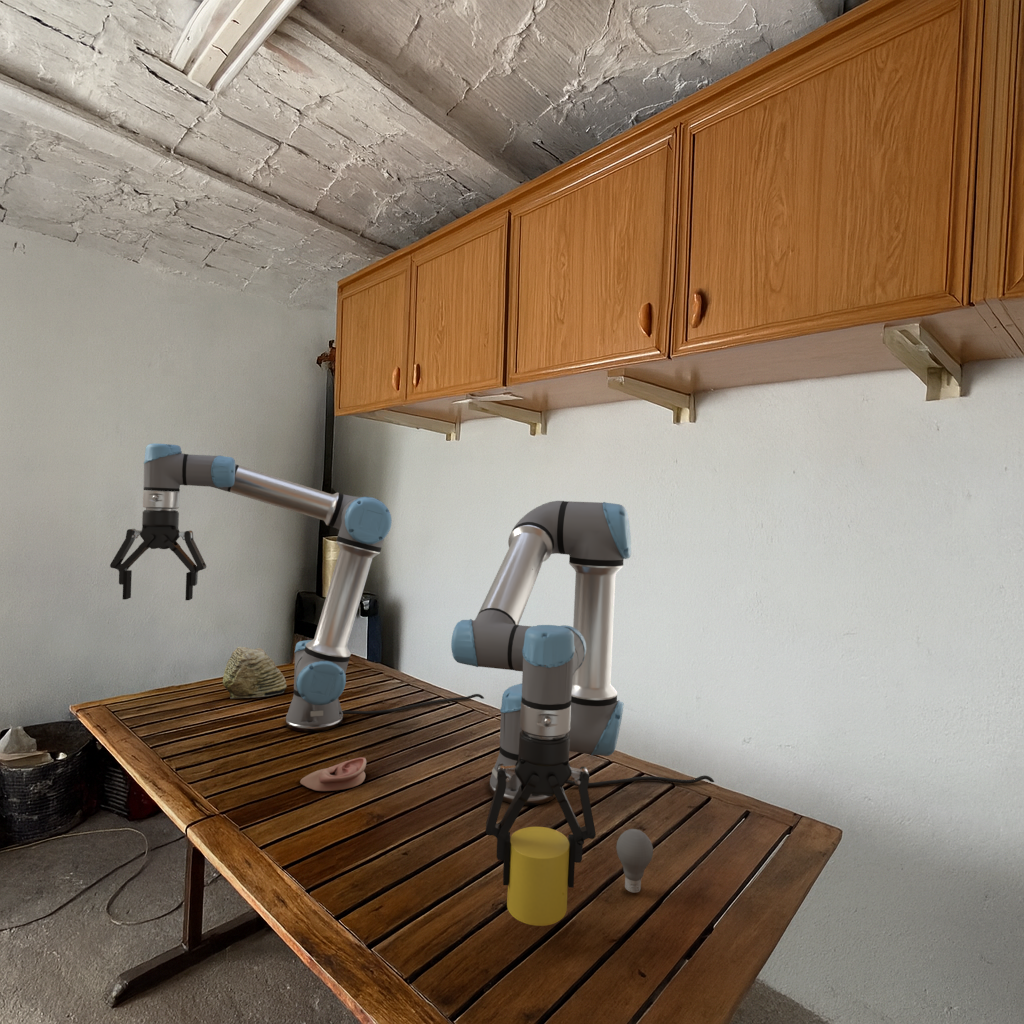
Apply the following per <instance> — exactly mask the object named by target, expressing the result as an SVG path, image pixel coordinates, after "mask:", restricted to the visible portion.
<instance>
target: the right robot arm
mask: <svg viewBox="0 0 1024 1024" xmlns="http://www.w3.org/2000/svg"><path fill="white" fill-rule="evenodd" d="M628 513H629V512H628V510H627V509H626V507H625V506H624V505H623V504H620V503H612V502H606V501H603V502H596V501H570V500H569V501H567V500H553V501H552V500H551V501H548V502H545V503H543V504H541V505H538V506H536V507H534V508H533V509H531V510H530V511H529V512H527V513H526V514H525V515H523V516H522V517H521V518H520V519H519V520H518V521H517V522H516V524H515V525H514V526H513V528H512V530H511V532H510V533H509V536H508V542H507V543H508V550H507V552H506V554H505V556H504V558H503V560H502V562H501V565H500V566H499V568H498V570H497V573H496V574H495V577H494V579H493V581H492V583H491V586H490V588H489V590H488V591H487V594H486V595H485V598H484V600H483V602H482V604H481V607H480V609H479V611H478V613H477V615H476V617H475V619H474V620H473V619H471V618H470V619H461V620H460V621H458V622H457V623H456V624H455V625H454V628H453V632H452V635H451V641H450V643H451V644H450V648H451V653H452V657H453V659H454V660H455V661H456V662H457V663H459V664H462V665H467V666H471V667H475V668H488V669H497V670H498V669H499V670H509V671H515V672H521V673H522V675H521V676H522V677H521V683H518V684H514V685H511V686H509V687H508V688H506V689H505V690H504V691H503V693H502V696H501V707H500V708H499V709H500V710H499V711H500V726H499V727H500V728H499V731H500V732H499V751H498V752H499V753H498V756H497V759H496V761H495V764H494V766H493V767H492V770H491V775H490V779H489V791H490V793H491V795H493V796H492V800H491V804H490V806H489V807H490V808H489V809H488V814H487V818H486V821H485V835H487V836H494V837H495V839H496V859H497V861H503V867H502V884H503V886H508V881H509V859H510V838H511V832H510V831H511V829H512V827H513V825H514V823H515V821H516V820H517V818H518V816H519V815H520V813H521V811H522V809H523V807H524V806H538V805H542V804H543V805H544V804H546V803H549V802H551V801H553V800H554V799H556V801H557V803H558V804H559V807H560V809H561V811H562V813H563V816H564V818H565V820H566V822H567V825H568V827H569V829H570V832H571V834H570V833H569V834H568V837H567V839H568V840H569V843H570V850H569V871H568V889H569V888H572V889H573V888H575V886H574V885H575V865H576V864H575V863H580V864H581V863H582V860H583V847H584V844H585V840H588V839H590V840H594V839H595V838H596V836H597V833H596V829H595V823H594V817H593V812H592V806H591V801H590V795H589V789H588V788H591V787H592V788H593V787H602V786H608V785H616V784H624V783H632V782H639V781H658V782H668V783H675V784H686V785H687V784H689V785H690V784H695V783H698V782H701V781H704V780H707V781H709V782H710V783H715V780H714V779H713V778H712V777H711V776H709V775H700V776H698V777H694V778H691V779H680V778H679V779H678V778H671V777H664V776H651V775H647V776H645V775H644V776H634V777H633V776H632V777H628V778H620V779H619V778H618V779H612V780H604V781H596V782H590V774H589V771H588V767H586V766H581V767H579V768H578V767H572V766H571V764H570V752H572V753H578V754H585V755H590V756H591V757H592V756H601V757H609V756H611V755H613V754H614V752H615V751H616V747H617V743H618V739H619V734H620V729H621V724H622V720H623V715H624V707H625V704H624V702H623V701H621V700H619V699H618V691H617V690H616V688H615V687H614V686H613V685H612V683H611V682H612V663H613V662H612V661H613V639H614V619H615V618H614V616H615V595H616V593H615V592H616V575H617V573H618V572H619V571H621V569H623V568H624V560H628V559H630V558H631V555H632V536H631V526H630V519H629V514H628ZM555 554H556V555H557V554H560V555H568V556H569V557H568V558H569V560H568V561H569V562H568V564H569V565H570V566H571V568H573V570H574V572H575V579H574V580H575V581H574V582H575V583H574V601H573V603H574V605H573V624H572V625H573V626H570V625H564V624H563V625H554V624H538V625H521V624H520V622H521V619H522V618H523V617H522V616H523V614H524V611H525V609H526V606H527V604H528V601H529V599H530V596H531V593H532V591H533V588H534V586H535V584H536V581H537V579H538V576H539V573H540V570H541V568H542V565H543V563H545V562H546V561H547V560H548V559H549V558H550V557H551V555H555ZM570 778H573V780H570ZM694 779H695V780H694ZM565 784H567V785H571V786H574V787H577V788H578V794H579V800H580V804H581V810H582V816H583V822H584V825H583V826H581V825H580V823H579V820H578V819H577V817H576V815H575V813H574V809H573V808H572V805H571V803H570V801H569V799H568V797H567V794H566V792H565V789H564V785H565ZM503 802H505V803H509V806H508V808H507V809H506V811H505V813H504V814H503V816H502V818H501V821H499V823H497V822H498V819H499V815H500V811H501V808H502V805H503Z"/></svg>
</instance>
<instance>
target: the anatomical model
mask: <svg viewBox="0 0 1024 1024" xmlns="http://www.w3.org/2000/svg"><path fill="white" fill-rule="evenodd" d="M366 766H367V759H366V757H361V756H360V757H356V758H352V759H349V760H345V761H343V762H340V763H337V764H335V765H332V766H329V767H327V768H321V769H318V770H316V771H315V770H314V771H313V772H311V773H309V774H307V775H305V776H303V777H302V778H301V779H300V781H299V783H300V785H302V786H304V787H305V788H307V789H310V790H313V791H316V792H331V791H332V792H333V791H340V790H346V789H351V788H355V787H357V786H359V785H361V784H362V783H363V782H365V779H366V772H365V769H366Z"/></svg>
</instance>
